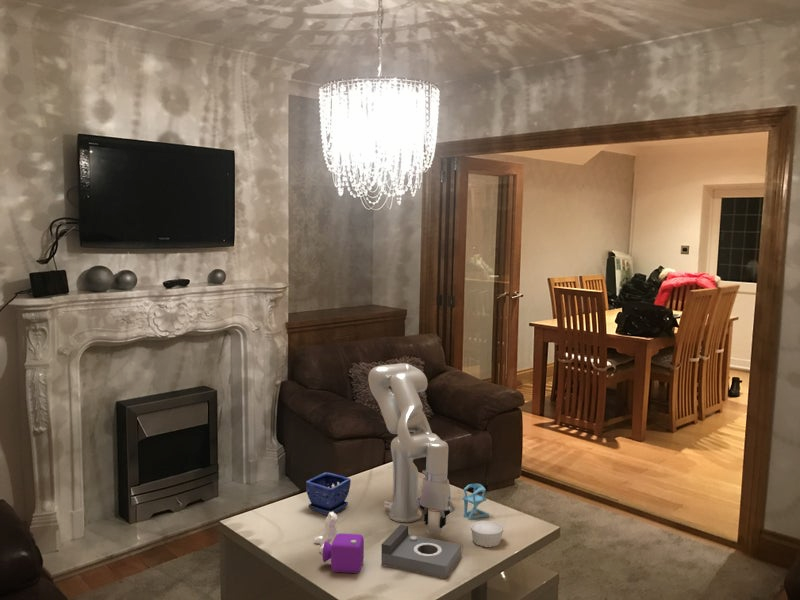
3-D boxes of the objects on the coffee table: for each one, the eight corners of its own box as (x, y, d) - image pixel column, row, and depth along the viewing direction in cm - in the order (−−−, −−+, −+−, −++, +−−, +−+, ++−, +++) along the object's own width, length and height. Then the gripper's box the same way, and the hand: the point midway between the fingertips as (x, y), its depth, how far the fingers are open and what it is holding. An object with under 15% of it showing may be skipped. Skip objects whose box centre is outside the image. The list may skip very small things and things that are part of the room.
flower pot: (352, 507, 256) (352, 477, 255) (331, 519, 245) (331, 488, 244) (325, 499, 264) (325, 471, 262) (304, 511, 252) (304, 481, 251)
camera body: (381, 564, 211) (381, 544, 210) (400, 543, 226) (400, 524, 225) (445, 578, 203) (446, 557, 202) (461, 556, 217) (461, 535, 217)
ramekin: (465, 537, 231) (465, 522, 231) (492, 532, 235) (493, 518, 235) (480, 551, 221) (480, 536, 221) (508, 545, 225) (509, 531, 225)
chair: (459, 515, 250) (459, 484, 249) (474, 509, 255) (475, 479, 254) (473, 522, 244) (473, 491, 243) (489, 516, 249) (489, 485, 248)
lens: (425, 532, 229) (426, 507, 228) (430, 526, 234) (431, 501, 233) (438, 535, 228) (439, 510, 226) (443, 529, 232) (444, 504, 231)
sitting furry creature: (313, 542, 226) (312, 508, 225) (336, 537, 230) (336, 505, 229) (320, 554, 218) (320, 519, 217) (345, 549, 221) (345, 515, 220)
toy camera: (321, 559, 214) (321, 530, 213) (363, 558, 215) (363, 528, 215) (320, 576, 204) (320, 545, 203) (364, 574, 205) (364, 544, 204)
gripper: (410, 475, 228) (408, 524, 230) (456, 484, 222) (454, 534, 224) (417, 468, 235) (416, 516, 237) (462, 476, 229) (460, 525, 231)
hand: (434, 524), depth 231 cm, fingers closed on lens, 5 cm apart
